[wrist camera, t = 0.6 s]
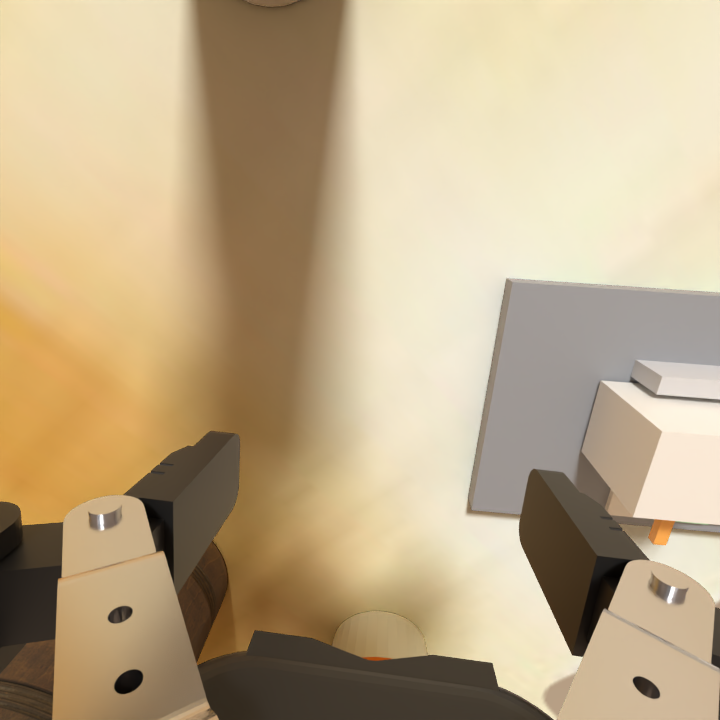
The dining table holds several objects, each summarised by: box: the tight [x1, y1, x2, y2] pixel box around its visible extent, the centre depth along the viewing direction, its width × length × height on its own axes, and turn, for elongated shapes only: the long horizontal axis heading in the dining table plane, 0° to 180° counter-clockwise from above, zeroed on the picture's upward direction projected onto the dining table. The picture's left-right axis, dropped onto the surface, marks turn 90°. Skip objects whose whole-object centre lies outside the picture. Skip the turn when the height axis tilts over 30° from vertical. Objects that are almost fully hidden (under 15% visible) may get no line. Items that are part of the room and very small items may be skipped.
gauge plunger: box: [582, 381, 720, 545], centre depth 27 cm, size 8×9×7 cm
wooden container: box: [0, 542, 227, 720], centre depth 30 cm, size 15×15×22 cm
